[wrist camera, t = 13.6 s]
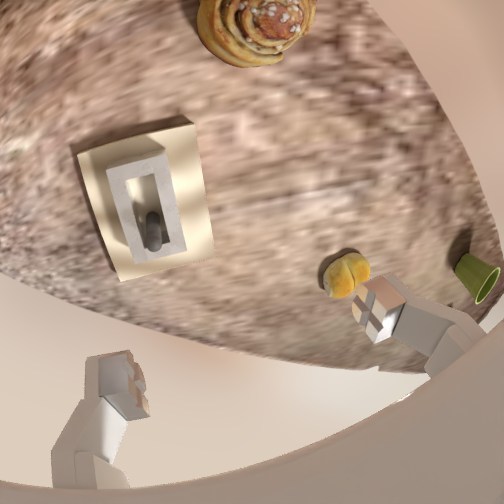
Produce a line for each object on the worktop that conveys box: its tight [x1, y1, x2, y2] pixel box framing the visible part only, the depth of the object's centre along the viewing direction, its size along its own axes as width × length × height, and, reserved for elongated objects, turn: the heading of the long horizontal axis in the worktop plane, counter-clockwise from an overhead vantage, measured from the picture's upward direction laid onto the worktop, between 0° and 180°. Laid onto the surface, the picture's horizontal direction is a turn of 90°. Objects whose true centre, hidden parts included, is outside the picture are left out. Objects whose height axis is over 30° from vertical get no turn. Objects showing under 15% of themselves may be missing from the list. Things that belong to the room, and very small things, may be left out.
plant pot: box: [455, 253, 500, 304], centre depth 62 cm, size 12×12×11 cm
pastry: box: [197, 0, 317, 68], centre depth 21 cm, size 13×15×8 cm
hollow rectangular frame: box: [106, 148, 187, 264], centre depth 30 cm, size 11×6×3 cm, turn 4°
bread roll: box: [323, 252, 370, 298], centre depth 48 cm, size 8×9×4 cm
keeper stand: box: [77, 123, 216, 282], centre depth 29 cm, size 17×13×8 cm
